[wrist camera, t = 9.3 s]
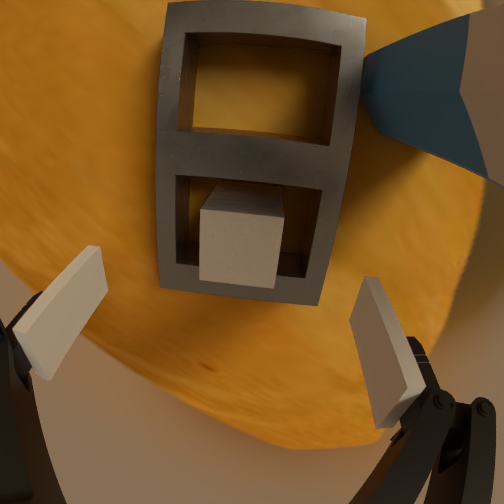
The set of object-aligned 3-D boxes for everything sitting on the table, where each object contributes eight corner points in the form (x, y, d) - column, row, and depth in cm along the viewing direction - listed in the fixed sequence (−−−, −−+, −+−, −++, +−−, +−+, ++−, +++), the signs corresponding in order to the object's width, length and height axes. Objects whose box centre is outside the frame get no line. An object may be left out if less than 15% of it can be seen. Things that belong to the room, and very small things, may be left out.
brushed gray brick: (219, 180, 24) (200, 209, 18) (281, 186, 24) (284, 217, 18) (216, 236, 26) (199, 279, 20) (274, 242, 26) (274, 288, 20)
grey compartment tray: (184, 16, 18) (168, 2, 14) (352, 31, 17) (366, 18, 14) (173, 263, 28) (160, 287, 24) (312, 279, 28) (317, 306, 24)
